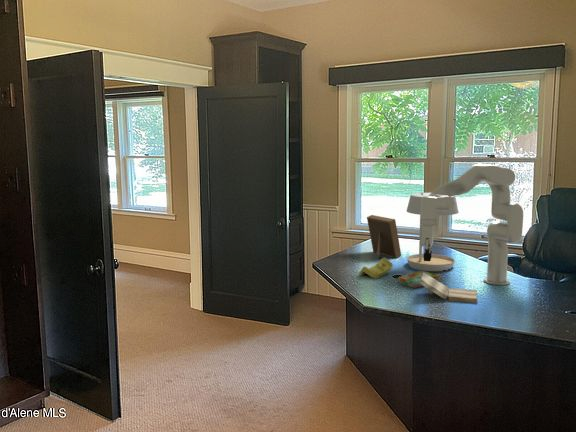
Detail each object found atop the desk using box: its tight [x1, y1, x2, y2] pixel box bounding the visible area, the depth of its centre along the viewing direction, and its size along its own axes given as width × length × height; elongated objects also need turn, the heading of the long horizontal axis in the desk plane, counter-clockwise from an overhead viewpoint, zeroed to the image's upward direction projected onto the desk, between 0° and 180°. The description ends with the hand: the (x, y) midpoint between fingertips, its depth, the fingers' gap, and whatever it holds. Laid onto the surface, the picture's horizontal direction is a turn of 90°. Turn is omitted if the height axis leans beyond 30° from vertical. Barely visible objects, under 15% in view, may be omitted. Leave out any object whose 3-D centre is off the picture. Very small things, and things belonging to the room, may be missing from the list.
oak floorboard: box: [447, 287, 478, 304], centre depth 248 cm, size 14×13×2 cm
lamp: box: [406, 192, 459, 272], centre depth 304 cm, size 29×29×43 cm
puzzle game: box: [397, 270, 442, 289], centre depth 273 cm, size 12×5×20 cm
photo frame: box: [366, 214, 402, 259], centre depth 332 cm, size 15×22×25 cm
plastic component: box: [359, 257, 394, 279], centre depth 291 cm, size 20×7×10 cm
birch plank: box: [419, 272, 450, 300], centre depth 252 cm, size 14×14×2 cm
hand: (427, 259), depth 251 cm, fingers open, 4 cm apart
